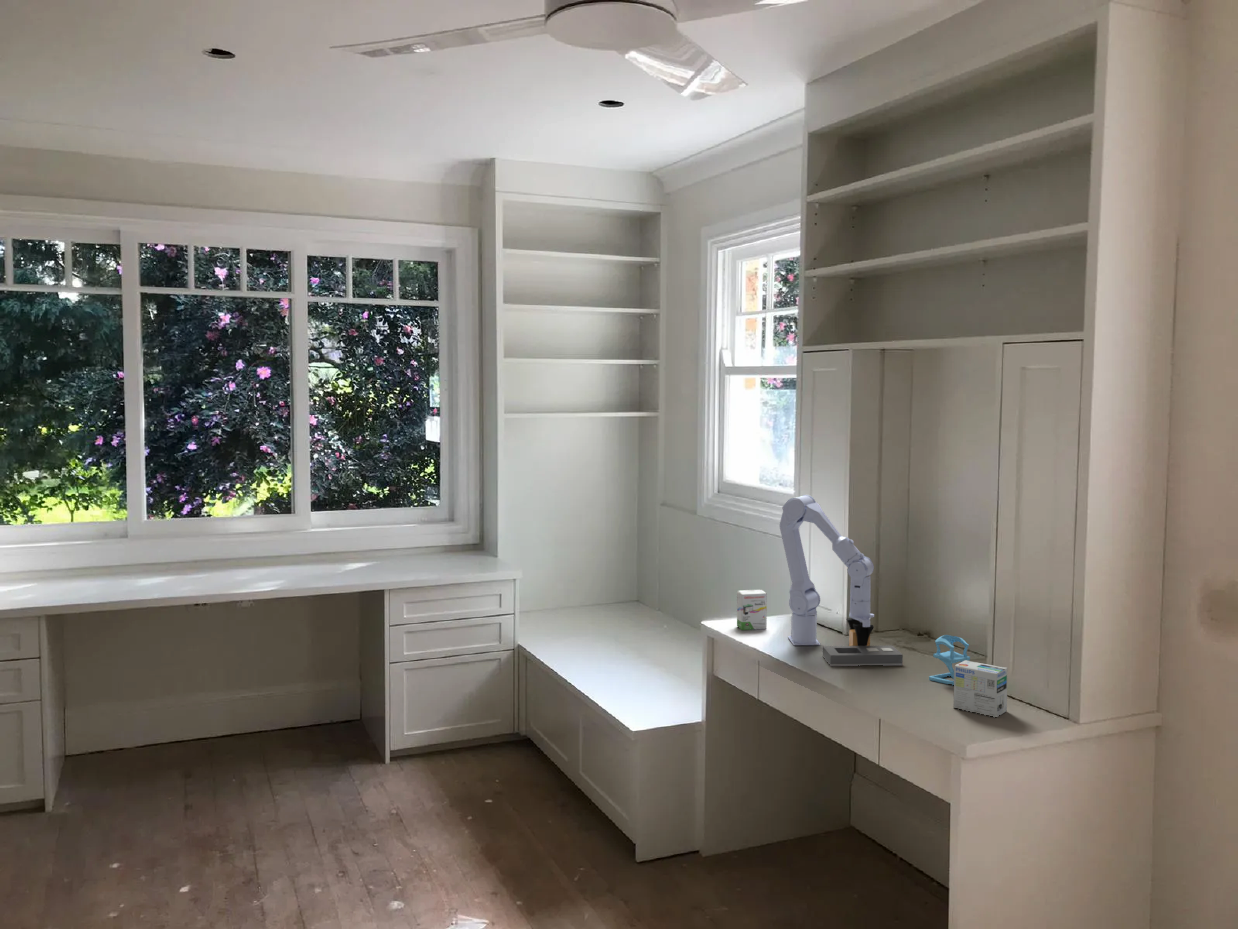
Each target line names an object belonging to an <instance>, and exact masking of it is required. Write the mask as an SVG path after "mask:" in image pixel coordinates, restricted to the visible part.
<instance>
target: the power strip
mask: <svg viewBox="0 0 1238 929" xmlns="http://www.w3.org/2000/svg"><path fill="white" fill-rule="evenodd" d="M903 656H904V655H903V653H902V652H900V650H898V649H897V648H896V647H895V646H894V645H886V644H885V645H870V646H849V645H823V646H822V658H823V657H824V658H825V659H824V658H823V659H824V660H825V662H828V663H827V664H828V665H829V664H830V665H829V667H848V666H849V667H853V666H854V667H856V666H857V667H861V666H860V665H883V666H903ZM858 665H859V666H858Z"/></svg>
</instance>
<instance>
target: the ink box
mask: <svg viewBox="0 0 1238 929" xmlns="http://www.w3.org/2000/svg"><path fill="white" fill-rule="evenodd" d="M767 595H768V594H767V592H765V591H764V590H763V589H745V590H743V589H742V590H740V589H739V590H737V591H736V627H737V626H738V627H739V628H740V630H741V631H749V630H752V629H755V630H766V629H768V628H767V621H768V620H767V618H768V617H767V616H768V614H767V613H768V612H767V611H768V609H767V607H768V606H767V604H768V603H767V602H768V596H767ZM738 627H737V628H738ZM739 628H738V629H739Z"/></svg>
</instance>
